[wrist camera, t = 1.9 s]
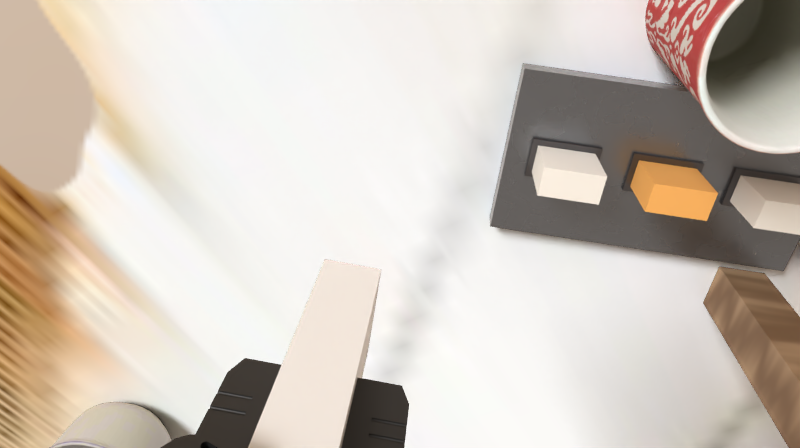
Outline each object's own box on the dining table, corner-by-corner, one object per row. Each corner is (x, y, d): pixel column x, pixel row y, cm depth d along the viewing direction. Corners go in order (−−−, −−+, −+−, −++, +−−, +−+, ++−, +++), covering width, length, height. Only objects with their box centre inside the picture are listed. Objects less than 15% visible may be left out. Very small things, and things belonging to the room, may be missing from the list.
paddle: (538, 145, 42) (544, 167, 38) (595, 153, 42) (607, 176, 38) (531, 171, 43) (537, 195, 39) (587, 179, 43) (598, 204, 39)
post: (719, 266, 47) (847, 450, 31) (764, 273, 47) (916, 462, 31) (703, 302, 48) (817, 495, 33) (746, 309, 48) (882, 506, 33)
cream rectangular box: (740, 175, 41) (766, 200, 38) (799, 183, 41) (830, 209, 38) (729, 201, 42) (753, 228, 39) (787, 209, 42) (816, 237, 39)
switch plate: (522, 63, 41) (525, 69, 40) (848, 109, 40) (864, 118, 39) (489, 217, 47) (490, 228, 45) (774, 260, 46) (785, 273, 44)
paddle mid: (638, 160, 42) (654, 183, 38) (696, 168, 41) (718, 193, 38) (630, 186, 42) (644, 211, 39) (686, 194, 42) (706, 220, 39)
